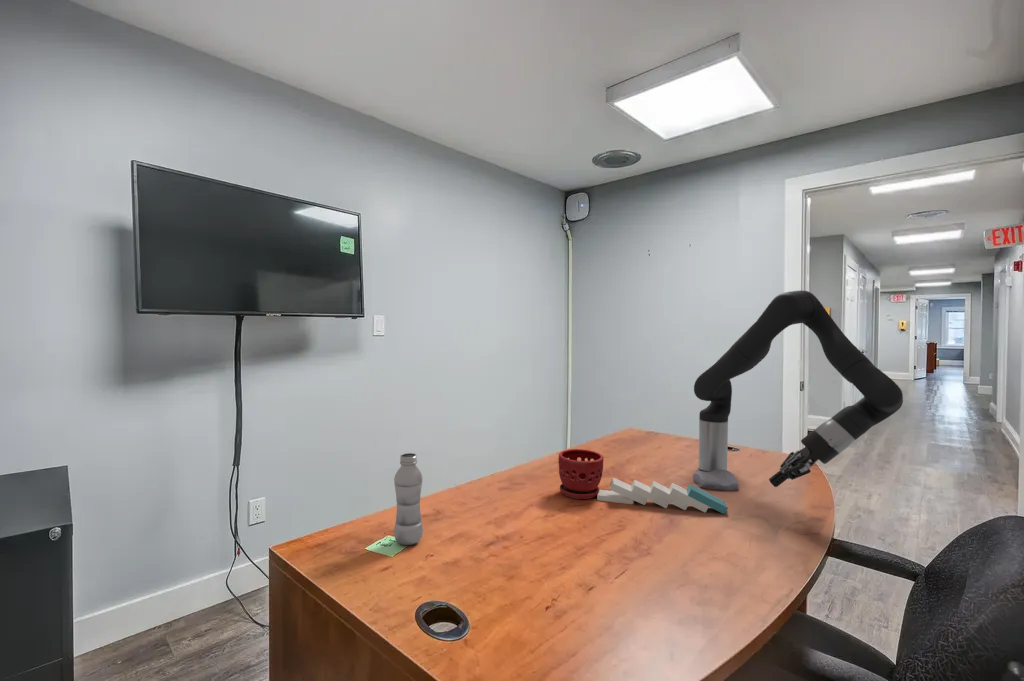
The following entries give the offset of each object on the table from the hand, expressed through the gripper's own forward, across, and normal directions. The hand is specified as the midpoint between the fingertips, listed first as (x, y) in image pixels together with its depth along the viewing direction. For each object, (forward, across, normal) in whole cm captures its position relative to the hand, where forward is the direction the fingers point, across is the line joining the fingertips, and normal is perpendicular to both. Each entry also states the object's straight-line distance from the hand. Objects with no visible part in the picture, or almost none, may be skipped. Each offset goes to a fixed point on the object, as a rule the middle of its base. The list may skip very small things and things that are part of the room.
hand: (771, 483), depth 126 cm
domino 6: (+14, 0, -2) cm, 14 cm away
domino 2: (+28, 0, -17) cm, 33 cm away
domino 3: (+24, 0, -13) cm, 27 cm away
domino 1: (+31, 0, -19) cm, 36 cm away
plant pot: (+42, 0, -29) cm, 51 cm away
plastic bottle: (+64, +45, -51) cm, 93 cm away
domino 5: (+17, 0, -6) cm, 18 cm away
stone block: (+15, -23, -2) cm, 27 cm away
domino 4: (+20, 0, -9) cm, 22 cm away
